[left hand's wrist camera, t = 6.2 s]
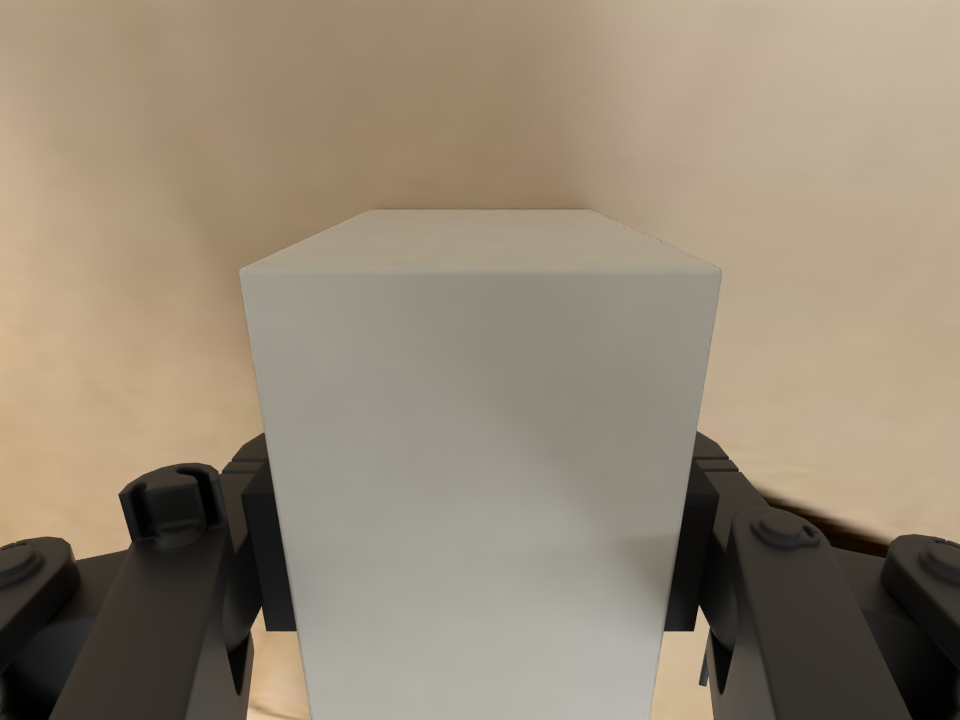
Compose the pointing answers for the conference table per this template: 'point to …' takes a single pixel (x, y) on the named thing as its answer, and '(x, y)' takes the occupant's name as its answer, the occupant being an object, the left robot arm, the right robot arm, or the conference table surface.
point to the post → (480, 456)
